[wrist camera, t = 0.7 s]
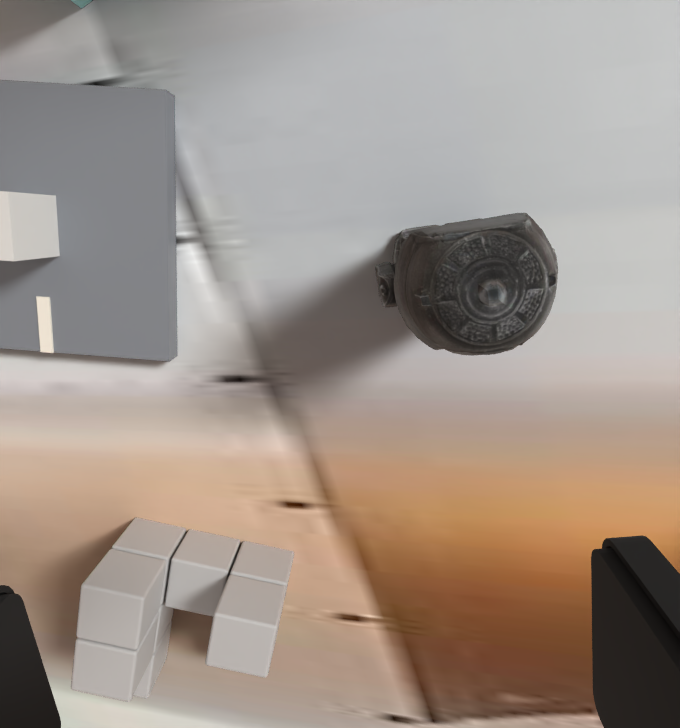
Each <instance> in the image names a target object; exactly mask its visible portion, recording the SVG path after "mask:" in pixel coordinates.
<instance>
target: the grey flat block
mask: <svg viewBox="0 0 680 728" xmlns="http://www.w3.org/2000/svg"><path fill="white" fill-rule="evenodd" d="M0 348H3V349H16V350H29V351H40V352H46V353H54V352H55V353H68V354H80V355H93V356H106V357H119V358H132V359H145V360H158V361H171V360H172V359H174V358H175V357H176V356H177V278H176V186H175V96H174V95H173V94H171V93H170V92H168V91H167V90H161V89H144V88H127V87H110V86H94V85H77V84H60V83H43V82H27V81H10V80H0Z"/></svg>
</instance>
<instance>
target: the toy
mask: <svg viewBox="0 0 680 728" xmlns="http://www.w3.org/2000/svg"><path fill="white" fill-rule="evenodd" d="M375 270H376V277H377V283H378V290H379V296H380V298H381V302H382V305H383V307H394V306H398V309H399V312H400V314H401V316H402V318H403V319H404V321H405V323H406V325H407V326H408V327H409V329H410V330H411V331H412V332H413V333H414V334H415V335H416V337H417V338H418V339H420V340H421V341H422V342H424V343H425V344H426V345H428V346H429V347H431V348H433V349H435V350H439V349H445V350H447V351H450V352H452V353H456V354H461V355H490V354H497V353H501V352H504V351H508V350H512V349H514V348H515V347H517V346H518V345H522V344H523V343H524V342H526V341H527V340H528V339H530V338H531V337H532V336H533V335H534V334H535V333H536V332H537V331H538V330H539V329H540V328H541V326H542V325H543V324H544V322H545V320H546V318H547V317H548V315H549V313H550V310H551V307H552V304H553V301H554V298H555V294H556V288H557V273H558V267H557V257H556V254H555V250H554V249H553V248H552V247H551V245H550V243H549V241H548V239H547V238H546V236H545V234H544V232H543V230H542V229H541V228H540V227H539V226H538V225H537V224H536V223H535V221H534V220H533V219H532V218H531V217H530V216H529V215H528V214H527V213H515V214H509V215H503V216H497V217H491V218H485V219H475V220H468V221H462V222H454V223H447V224H445V225H443V226H439V225H431V226H423V227H416V228H409V229H405V230H402V232H401V233H400V235H399V236H398V238H397V239H396V242H395V248H394V254H393V265H392V264H391V263H390V262H387V263H382V264H379V265H376V266H375Z"/></svg>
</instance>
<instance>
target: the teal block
mask: <svg viewBox="0 0 680 728" xmlns="http://www.w3.org/2000/svg"><path fill="white" fill-rule="evenodd" d="M71 1H72V2H74V3H75V4H76V5H78V6H79V7H80V8H83V7H85V6H86V5H87V4H88V3H90V2H91V1H92V0H71Z"/></svg>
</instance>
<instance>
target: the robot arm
mask: <svg viewBox="0 0 680 728" xmlns="http://www.w3.org/2000/svg"><path fill="white" fill-rule="evenodd" d="M591 571H592V652H593V695H594V701H595V705H596V709H597V712H598V715H599V717H600V720H601V722H602V724H603V726H604V728H680V574H679V573H678V572H677V571H676V569H675V568H674V567H673V566H672V565H671V564H670V562H669V561H668V560H667V559H666V558H665V557H664V556H663V554H662V553H661V552H660V551H659V550H658V549H657V547H656V546H655V545H654V544H653V543H652V542H651V540H649V539H648V538H647V537H646V536H632V537H619V538H606V539H605V540H604V542H603V544H602V549H594V550H593V551H592V557H591ZM0 728H61V721H60V716H59V713H58V710H57V707H56V704H55V701H54V697H53V694H52V691H51V688H50V685H49V682H48V678H47V675H46V672H45V669H44V666H43V663H42V659H41V656H40V653H39V650H38V647H37V644H36V640H35V637H34V634H33V631H32V628H31V625H30V621H29V618H28V615H27V612H26V609H25V606H24V603H23V600H22V598H21V597H20V596H19V595H18V594H15V593H14V591H13V590H12V589H11V588H10V587H9V586H5V585H1V586H0Z"/></svg>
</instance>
